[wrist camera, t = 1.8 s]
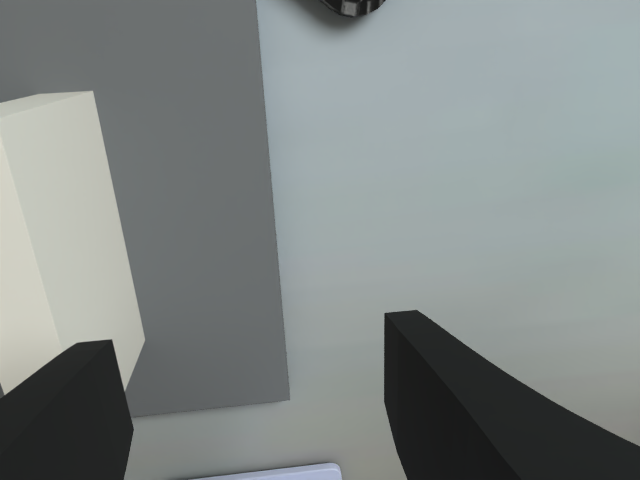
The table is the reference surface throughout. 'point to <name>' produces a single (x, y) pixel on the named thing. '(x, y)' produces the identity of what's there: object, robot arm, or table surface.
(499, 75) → the table surface
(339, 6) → the phone
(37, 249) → the card box
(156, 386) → the desk mat
